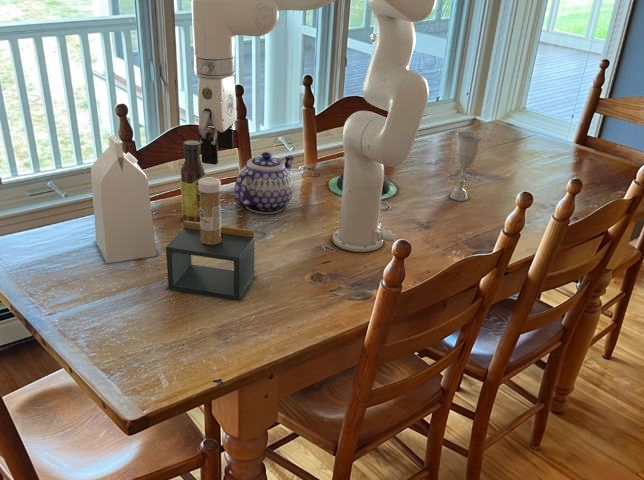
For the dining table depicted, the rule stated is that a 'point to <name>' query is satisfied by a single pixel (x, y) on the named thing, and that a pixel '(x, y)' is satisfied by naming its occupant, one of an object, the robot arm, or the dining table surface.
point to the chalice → (465, 158)
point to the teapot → (265, 184)
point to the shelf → (231, 248)
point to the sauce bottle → (191, 181)
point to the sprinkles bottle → (210, 210)
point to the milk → (121, 206)
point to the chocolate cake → (387, 188)
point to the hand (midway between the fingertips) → (218, 155)
